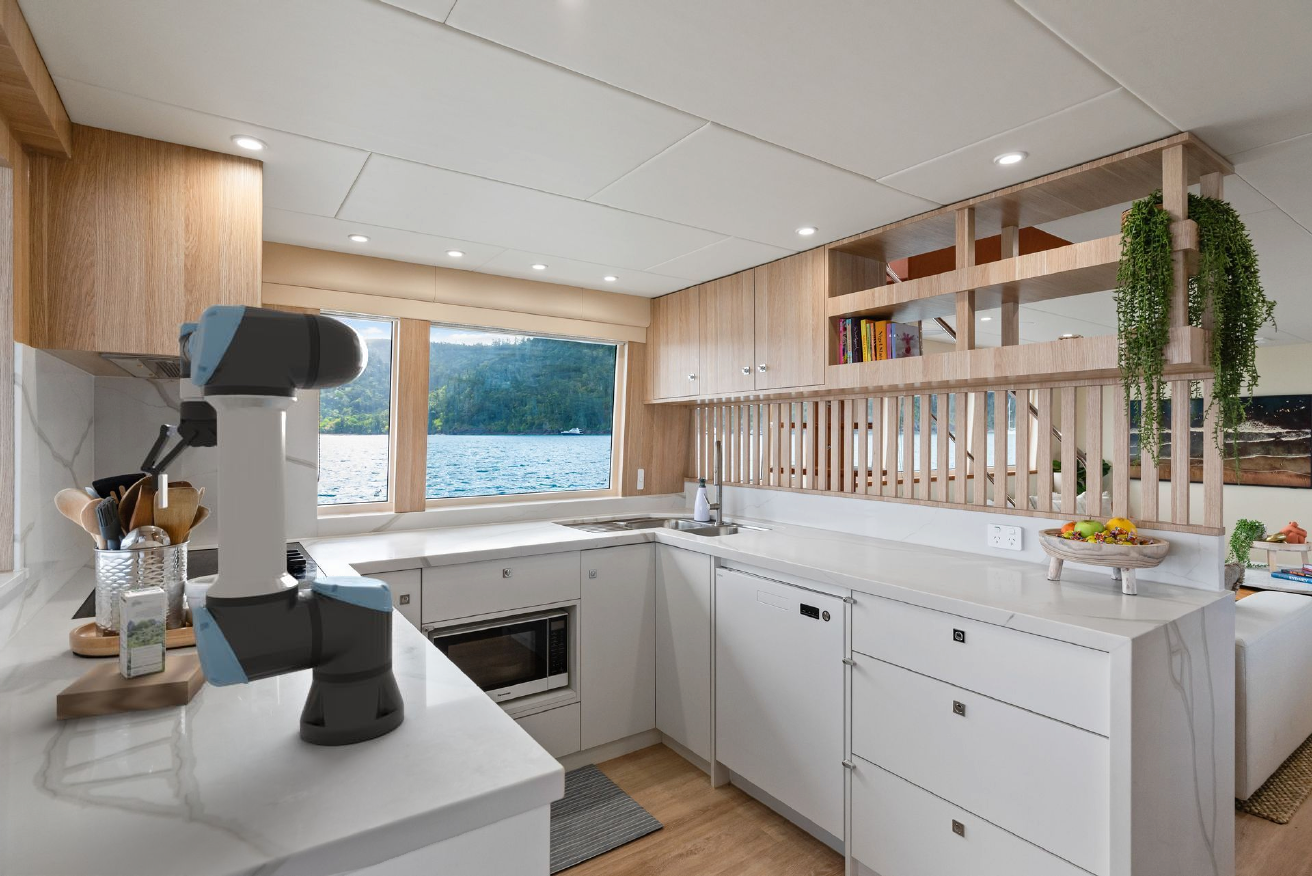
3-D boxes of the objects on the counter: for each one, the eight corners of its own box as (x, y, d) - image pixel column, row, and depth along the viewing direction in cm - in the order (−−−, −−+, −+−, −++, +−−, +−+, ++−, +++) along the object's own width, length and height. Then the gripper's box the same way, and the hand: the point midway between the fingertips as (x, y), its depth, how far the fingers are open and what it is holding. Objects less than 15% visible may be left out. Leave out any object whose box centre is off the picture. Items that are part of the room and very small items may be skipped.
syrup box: (158, 663, 123) (157, 585, 123) (166, 671, 120) (166, 590, 119) (118, 672, 119) (118, 590, 119) (126, 680, 115) (125, 595, 115)
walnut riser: (212, 672, 130) (212, 652, 130) (188, 703, 115) (188, 680, 115) (98, 685, 124) (98, 663, 124) (56, 720, 109) (56, 695, 109)
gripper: (276, 402, 143) (276, 502, 143) (134, 400, 134) (135, 506, 134) (269, 401, 136) (270, 505, 136) (120, 398, 127) (120, 510, 127)
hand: (203, 506), depth 135 cm, fingers open, 13 cm apart
